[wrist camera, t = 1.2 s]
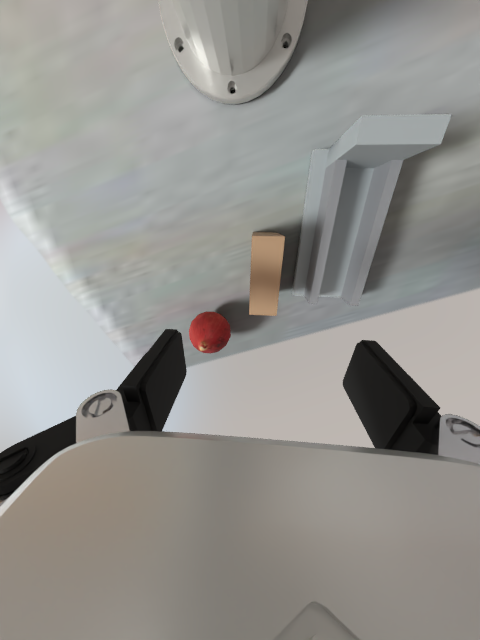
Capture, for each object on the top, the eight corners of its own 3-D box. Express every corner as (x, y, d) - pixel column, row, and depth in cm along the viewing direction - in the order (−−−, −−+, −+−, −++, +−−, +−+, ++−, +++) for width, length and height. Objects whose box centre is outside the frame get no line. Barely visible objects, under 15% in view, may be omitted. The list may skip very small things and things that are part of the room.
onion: (238, 312, 30) (233, 340, 23) (225, 340, 33) (217, 373, 26) (203, 297, 30) (186, 321, 22) (192, 328, 32) (174, 358, 25)
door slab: (252, 232, 25) (252, 235, 18) (276, 232, 25) (285, 236, 18) (250, 291, 29) (249, 314, 21) (270, 292, 28) (276, 315, 21)
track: (311, 152, 21) (340, 115, 14) (398, 151, 20) (474, 113, 13) (291, 293, 28) (304, 317, 21) (355, 295, 28) (390, 321, 21)
